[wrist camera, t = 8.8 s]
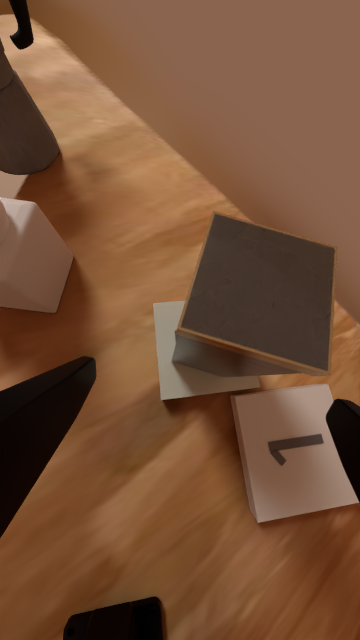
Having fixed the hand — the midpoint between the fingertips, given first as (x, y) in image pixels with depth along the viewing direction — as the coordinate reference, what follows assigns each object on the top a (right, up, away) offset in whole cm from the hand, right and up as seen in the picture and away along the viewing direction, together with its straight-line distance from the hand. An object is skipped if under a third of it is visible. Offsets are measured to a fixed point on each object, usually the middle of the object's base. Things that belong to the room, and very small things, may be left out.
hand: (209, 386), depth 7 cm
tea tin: (+1, 0, +11) cm, 11 cm away
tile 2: (+1, 0, +13) cm, 13 cm away
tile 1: (+9, -9, +11) cm, 16 cm away
